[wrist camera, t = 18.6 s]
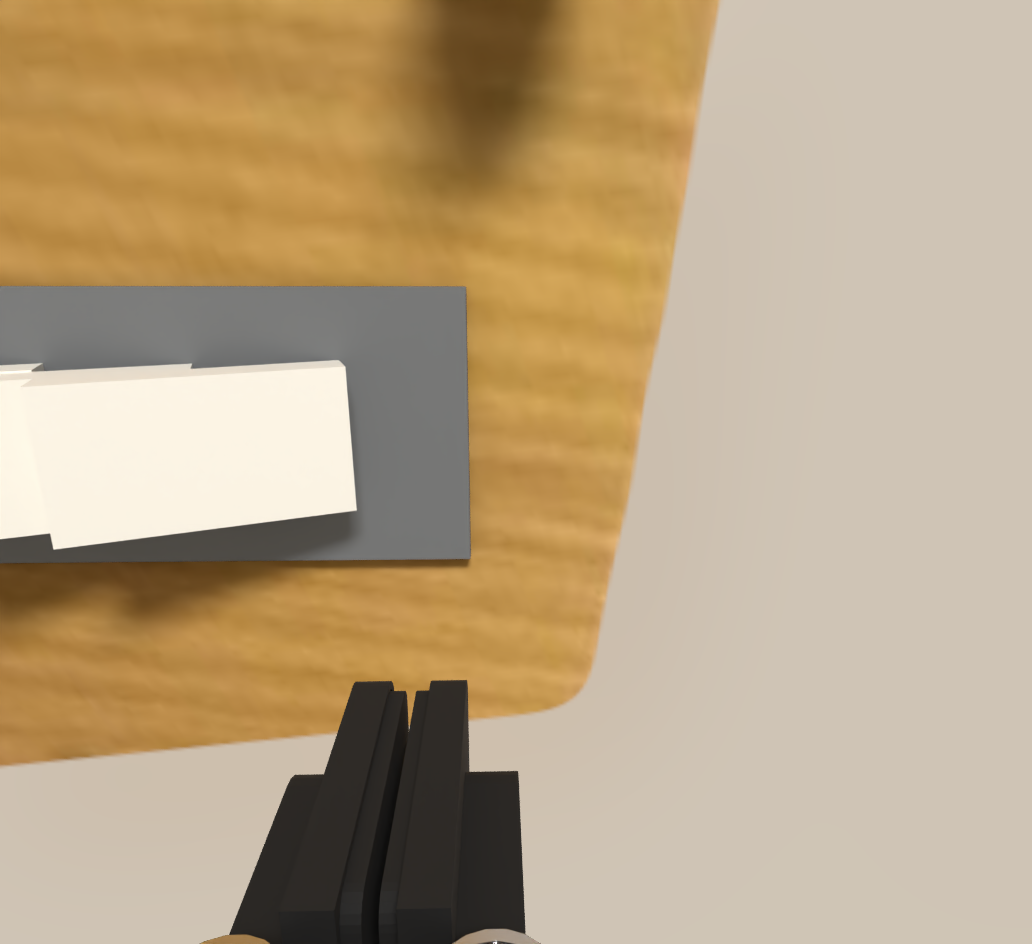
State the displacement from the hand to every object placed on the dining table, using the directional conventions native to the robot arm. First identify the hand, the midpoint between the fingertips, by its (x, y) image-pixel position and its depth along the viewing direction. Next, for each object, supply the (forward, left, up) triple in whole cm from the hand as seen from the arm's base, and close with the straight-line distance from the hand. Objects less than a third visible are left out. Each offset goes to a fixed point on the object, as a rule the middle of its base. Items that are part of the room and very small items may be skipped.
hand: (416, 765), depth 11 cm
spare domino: (-5, 0, -20) cm, 21 cm away
